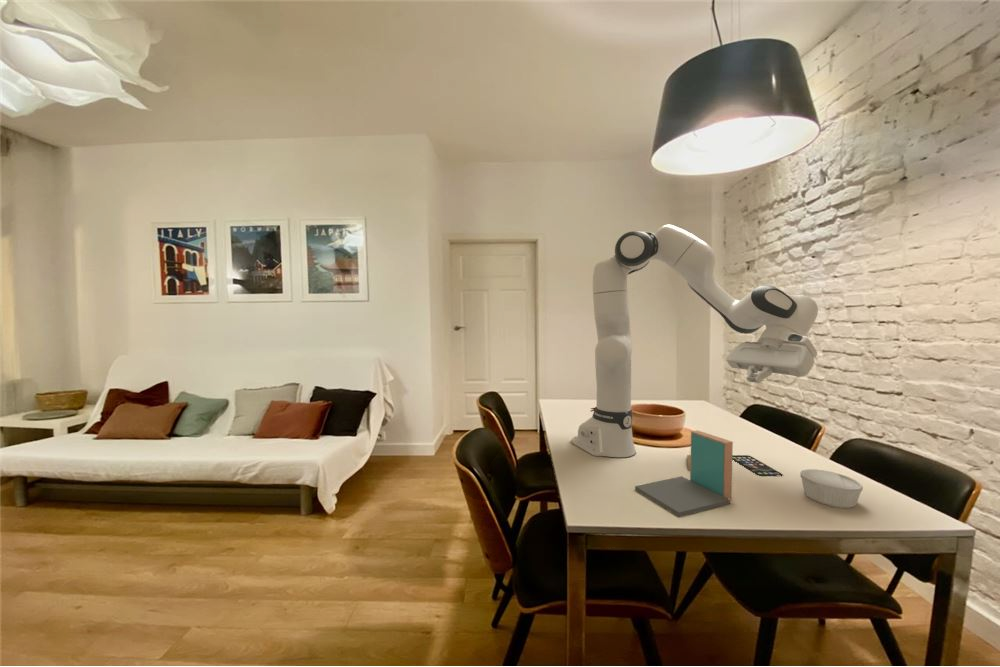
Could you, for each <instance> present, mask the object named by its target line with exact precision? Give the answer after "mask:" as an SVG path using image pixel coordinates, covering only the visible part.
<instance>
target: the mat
mask: <svg viewBox="0 0 1000 667" xmlns="http://www.w3.org/2000/svg"><path fill="white" fill-rule="evenodd" d="M634 490H635V491H637V492H638V493H639V492H640V493H639V494H641V493H642V494H641V495H643V496H644V495H645V496H644V497H646V498H647V499H649V498H650V500H651V501H652V500H653V501H652V502H654V503H656V504H657V503H658V504H657V505H658V506H661V507H662V506H663V507H662V508H664V509H666V510H668V511H669V512H670V511H671V512H670V513H672V514H674V515H675V516H677V517H679V518H680V517H684V516H688V515H692V514H696V513H699V512H704V511H707V510H712V509H715V508H719V507H724V506H726V505H730V504H731V498H726V497H724V496H721V495H719V494H717V493H715V492H713V491H711V490H709V489H707V488H705V487H703V486H701V485H699V484H697V483H695V482H692V481H690V479H689V478H686V477H684V476H677V477H671V478H669V479H663V480H658V481H654V482H653V481H652V482H649V483H644V484H638V485H635V486H634Z"/></svg>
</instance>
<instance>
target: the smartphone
mask: <svg viewBox="0 0 1000 667" xmlns="http://www.w3.org/2000/svg"><path fill="white" fill-rule="evenodd" d="M733 460H734V461H733ZM732 461H733V462H735V463H736V462H737V464H738V463H739V464H738V465H739V466H741V465H742V467H743V466H744V467H743V468H745V470H746V469H747V470H748V471H749V470H750V472H751V473H753V474H754V473H755V474H754V475H756V476H758V475H759V476H758V477H778V476H777V475H781V476H780V477H783V476H784V474H783V473H781V472H780V471H778V470H777V469H775V468H773V467H771V466H769V465H767V464H765V463H764V462H762V461H761V460H759V459H756V458H755V457H753V456H751V455H748V454H747V455H746V454H745V455H742V454H739V455H733V454H732ZM782 475H783V476H782Z"/></svg>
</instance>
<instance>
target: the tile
mask: <svg viewBox="0 0 1000 667" xmlns="http://www.w3.org/2000/svg"><path fill="white" fill-rule="evenodd" d="M733 444H734V442H733V441H732V440H728V439H725V438H722V437H719V436H716V435H714V434H710V433H707V432H704V431H701V430H692V431H690V455H691V462H690V471H689V480H690V481H692V482H695V483H697V484H699V485H701V486H703V487H705V488H707V489H709V490H711V491H713V492H715V493H717V494H719V495H721V496H724V497H726V498H728V499H731V498H732V490H733V489H732V487H733V486H732V484H733V480H732V479H733V460H732V455H733V450H734V449H733V448H734V446H733Z"/></svg>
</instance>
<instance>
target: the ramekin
mask: <svg viewBox="0 0 1000 667" xmlns="http://www.w3.org/2000/svg"><path fill="white" fill-rule="evenodd" d="M799 476H800V478H801V483H802V488H803V492H804V494H805V495H806V496H807V497H808V498H809V499H811V500H813V501H815V502H818V503H819V504H823V505H826V506H828V507H834V508H838V507H839V509H852V508H854V507H855V506H856V505H857V504H858V501H859V499H860V495H861V493H862V491H863V485H862V484H861V483H860V482H859V481H858V480H856V479H854V478H851V477H849V476H846V475H845V474H841V473H839V472H838V473H837V472H835V471H831V470H830V471H829V470H823V469H815V468H814V469H812V468H811V469H809V468H808V469H803V470H801V471H800V474H799Z"/></svg>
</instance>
